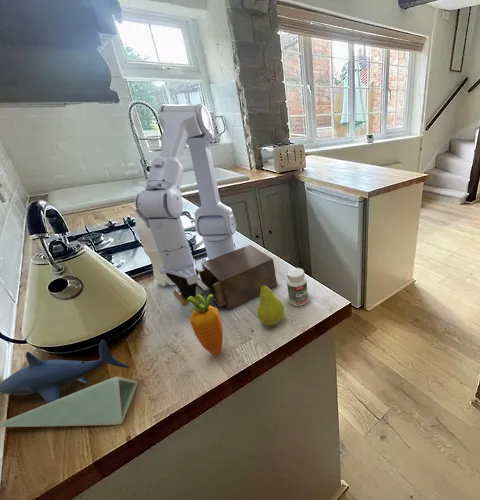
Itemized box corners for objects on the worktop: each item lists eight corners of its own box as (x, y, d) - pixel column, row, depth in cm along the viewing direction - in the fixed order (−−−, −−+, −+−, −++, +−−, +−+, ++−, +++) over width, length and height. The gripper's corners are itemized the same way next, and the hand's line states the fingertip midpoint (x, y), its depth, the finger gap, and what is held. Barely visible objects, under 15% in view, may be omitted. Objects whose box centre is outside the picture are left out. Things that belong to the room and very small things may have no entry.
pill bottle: (298, 309, 71) (295, 280, 67) (285, 301, 74) (281, 273, 70) (312, 299, 75) (309, 271, 71) (299, 292, 77) (296, 265, 73)
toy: (44, 378, 58) (0, 344, 53) (147, 348, 57) (113, 311, 52) (-1, 427, 50) (-58, 393, 45) (119, 393, 49) (75, 355, 44)
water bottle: (174, 289, 79) (141, 200, 67) (151, 286, 80) (115, 198, 68) (192, 275, 85) (165, 190, 73) (170, 272, 86) (140, 189, 74)
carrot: (234, 346, 61) (218, 287, 54) (223, 365, 57) (203, 304, 50) (211, 344, 62) (192, 285, 54) (198, 364, 57) (176, 302, 50)
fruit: (289, 315, 69) (283, 272, 64) (279, 332, 64) (271, 288, 59) (266, 312, 70) (258, 269, 65) (255, 329, 65) (245, 285, 60)
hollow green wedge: (-4, 376, 46) (129, 357, 51) (14, 402, 49) (138, 382, 54) (-49, 425, 39) (110, 398, 44) (-25, 453, 42) (122, 424, 47)
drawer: (191, 324, 66) (182, 300, 63) (174, 303, 72) (166, 281, 69) (258, 290, 77) (254, 268, 73) (239, 275, 83) (234, 254, 80)
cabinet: (229, 310, 71) (221, 280, 67) (209, 290, 78) (201, 262, 74) (277, 286, 80) (273, 258, 76) (255, 270, 87) (250, 244, 83)
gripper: (141, 241, 64) (161, 291, 71) (163, 264, 56) (183, 319, 62) (176, 231, 69) (191, 279, 75) (201, 251, 60) (216, 304, 66)
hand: (190, 296), depth 69 cm, fingers closed, pressing on drawer
